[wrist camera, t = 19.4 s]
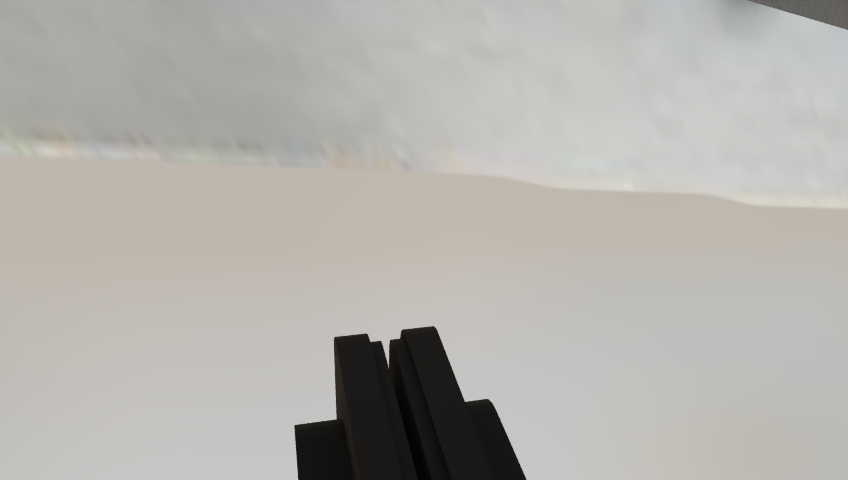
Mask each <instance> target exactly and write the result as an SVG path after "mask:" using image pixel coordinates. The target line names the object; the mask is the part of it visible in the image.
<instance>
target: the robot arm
mask: <svg viewBox="0 0 848 480" xmlns="http://www.w3.org/2000/svg"><path fill="white" fill-rule="evenodd" d="M334 356H335V357H334V358H335V384H336V413H337V420H330V421H322V422H314V423H307V424H300V425H295V439H296V452H297V453H296V454H297V468H298V480H526V478H525V475H524V473H523V471H522V469H521V466H520V464H519V462H518V459H517V457H516V455H515V453H514V450H513V448H512V446H511V443H510V441H509V439H508V436H507V434H506V432H505V430H504V427H503V425H502V423H501V421H500V418H499V416H498V414H497V411H496V409H495V407H494V406H493V404H492V402H490V400H488V399H483V400H477V401H469V402H465V401H464V399H463V396H462V393H461V391H460V388H459V386H458V383H457V381H456V378H455V375H454V373H453V370H452V368H451V365H450V362H449V360H448V357H447V355H446V352H445V350H444V347H443V345H442V342H441V339H440V337H439V334H438V331H437V329H436V328H435V327H434V326H432V327H424V328H414V329H404V330H402V331H401V337H400V339H394V340H390V346H389V368H388V364H387V360H386V356H385V352H384V349H383V345H382V342H381V341H376V342H370V340H369V337H368V334H359V335H349V336H340V337H335V338H334Z"/></svg>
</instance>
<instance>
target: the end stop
mask: <svg viewBox="0 0 848 480" xmlns="http://www.w3.org/2000/svg"><path fill="white" fill-rule="evenodd" d="M749 1H752V2H756V3H759V4H762V5H766V6H769V7H773V8H776V9H779V10H783V11H786V12H789V13H793V14H796V15H800V16H803V17H806V18H810V19H813V20H817V21H820V22H823V23H827V24H830V25H834V26H837V27H840V28H844V29H847V30H848V0H749Z"/></svg>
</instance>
